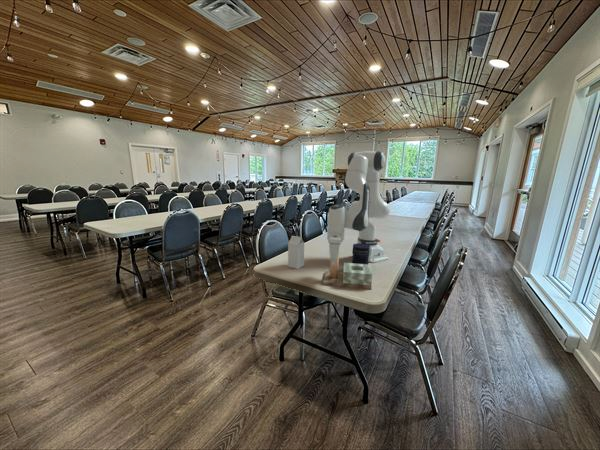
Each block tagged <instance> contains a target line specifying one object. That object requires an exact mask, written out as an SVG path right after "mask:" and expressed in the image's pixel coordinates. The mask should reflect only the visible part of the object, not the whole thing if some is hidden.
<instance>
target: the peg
mask: <svg viewBox="0 0 600 450" xmlns="http://www.w3.org/2000/svg"><path fill="white" fill-rule="evenodd" d="M329 258H330V257H329ZM339 259H340V252H339V253H338V258H337V259H336V264H335V265H332V258H330V263H329V266H330V267H329V271H330V278H338V272H339V264H340V260H339Z"/></svg>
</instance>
